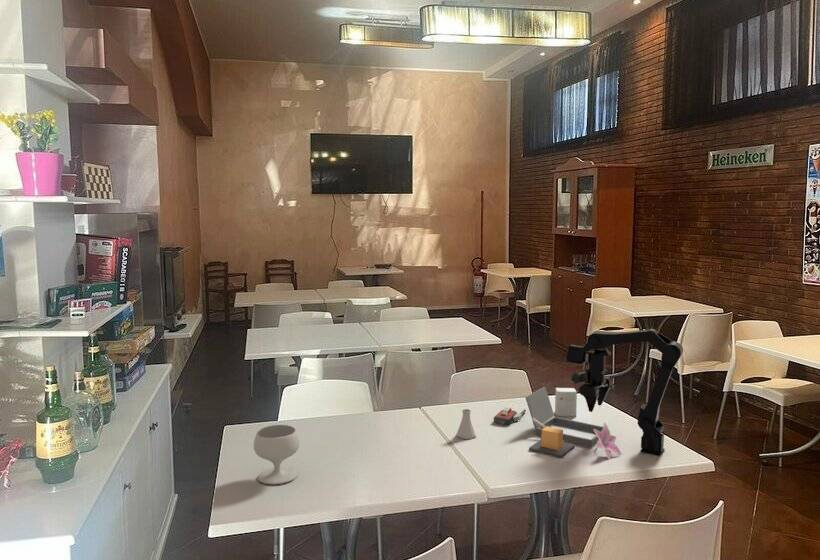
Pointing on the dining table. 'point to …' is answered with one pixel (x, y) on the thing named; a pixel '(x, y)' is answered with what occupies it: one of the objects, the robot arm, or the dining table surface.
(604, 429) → the lily
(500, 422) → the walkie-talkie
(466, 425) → the flask
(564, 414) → the small box
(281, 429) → the chalice
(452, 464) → the dining table surface
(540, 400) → the case
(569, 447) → the rubber mat
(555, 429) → the block
